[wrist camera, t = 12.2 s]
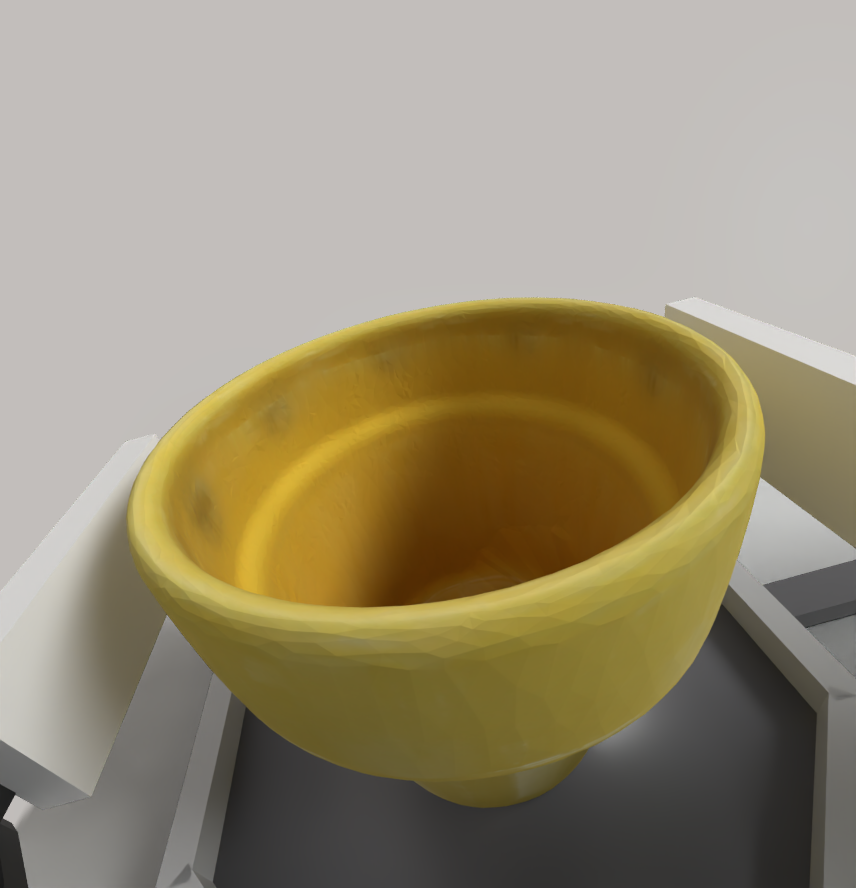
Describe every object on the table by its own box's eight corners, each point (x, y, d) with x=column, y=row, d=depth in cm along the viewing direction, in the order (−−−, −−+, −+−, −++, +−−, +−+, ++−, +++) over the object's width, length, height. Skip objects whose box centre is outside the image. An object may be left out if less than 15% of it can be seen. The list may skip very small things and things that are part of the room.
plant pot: (551, 509, 18) (537, 265, 13) (791, 792, 10) (1032, 417, 5) (308, 600, 17) (181, 368, 12) (340, 1022, 8) (-84, 873, 3)
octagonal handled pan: (765, 432, 21) (775, 392, 20) (1575, 938, 7) (1769, 906, 6) (270, 563, 21) (250, 530, 20) (110, 1381, 7) (6, 1440, 6)
